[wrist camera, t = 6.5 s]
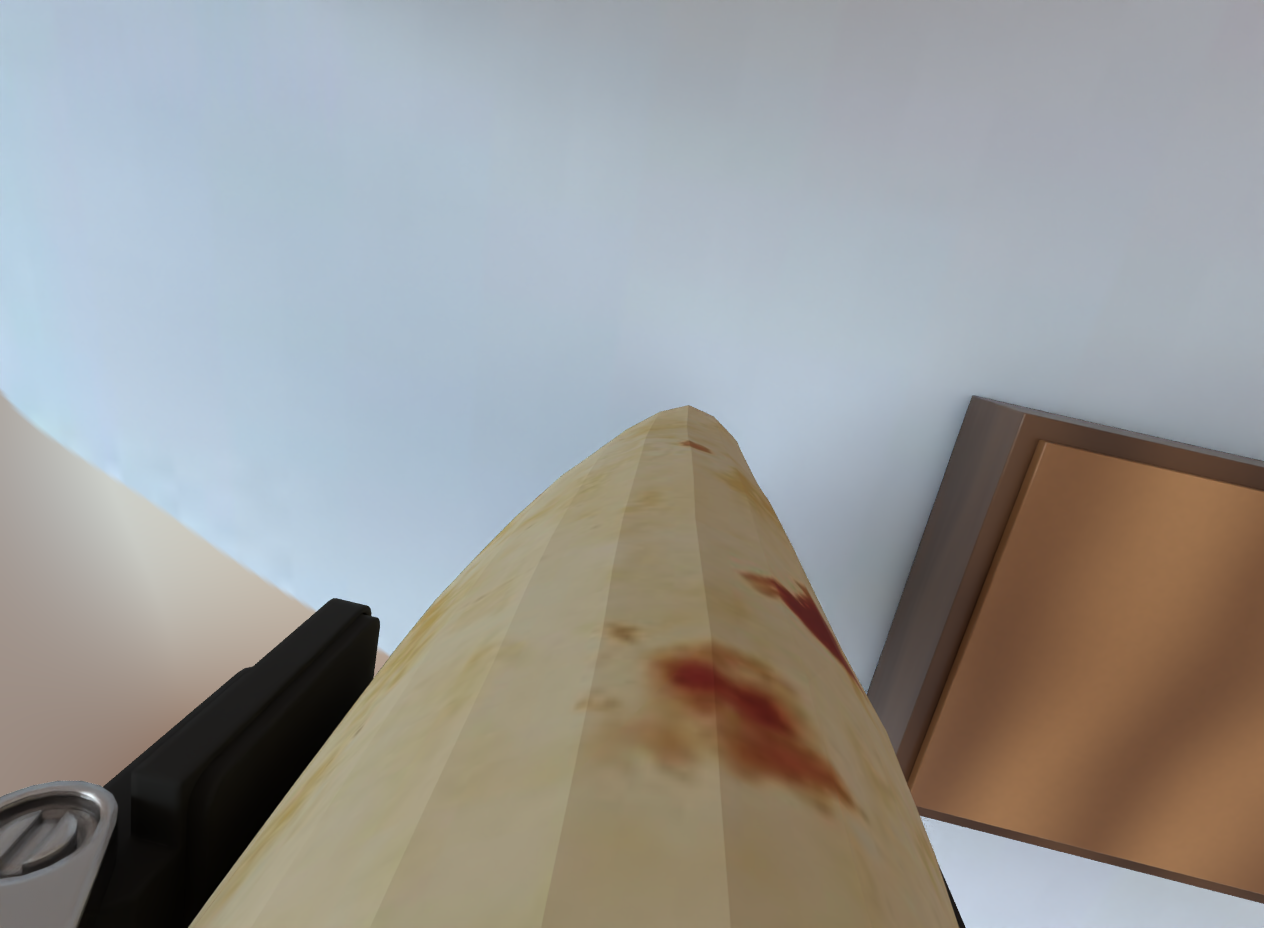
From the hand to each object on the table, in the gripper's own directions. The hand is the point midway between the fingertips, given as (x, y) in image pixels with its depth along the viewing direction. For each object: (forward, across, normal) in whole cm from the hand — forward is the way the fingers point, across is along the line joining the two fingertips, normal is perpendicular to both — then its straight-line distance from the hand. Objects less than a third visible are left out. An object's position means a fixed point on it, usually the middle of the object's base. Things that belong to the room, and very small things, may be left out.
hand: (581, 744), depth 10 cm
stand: (+13, -17, +1) cm, 21 cm away
